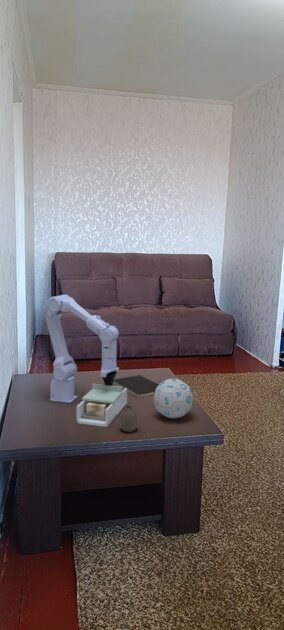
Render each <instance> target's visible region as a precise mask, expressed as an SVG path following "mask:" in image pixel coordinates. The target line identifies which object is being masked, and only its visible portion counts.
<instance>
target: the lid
mask: <svg viewBox="0 0 284 630" xmlns="http://www.w3.org/2000/svg"><path fill="white" fill-rule="evenodd" d="M91 386H92V389H90V390H89V391H88V392H87V393H86V394H85V395H84V396H82V398H81V400H82V401H83V400H86V401H94V402H103V403H108V404H111V403H112V404H113V403H114V402H115V401H116V400H117V399H118V398H119V397H120V396H121V394H122V391H123V390H124V389H123V387H121V386H117V385H105V384H103V383H101V384H100V383H92V384H91Z"/></svg>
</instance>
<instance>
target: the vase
mask: <svg viewBox="0 0 284 630" xmlns="http://www.w3.org/2000/svg"><path fill="white" fill-rule="evenodd" d="M138 424H139V416H138V413H137V411H135V409H134V407H133V405H125V406H124V409H122V410H121V413H119V418H118V425H119V427H120V429H121V430H122V431H124V432H126V433H131V432H134V431H135V430H137V427H138Z"/></svg>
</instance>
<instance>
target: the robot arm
mask: <svg viewBox="0 0 284 630" xmlns="http://www.w3.org/2000/svg"><path fill="white" fill-rule="evenodd" d="M45 307H46V309H45V317H44V318H45V321H46V325H47V328H48V333H49V337H50V338H49V339H50V341H51V345H52V350H53V353H54V358H55V359H54V362H53V364H52V365H53V378H52V379H51V381H50V384H49V385H50V386H49V387H50V395H49V396H50V398H49V401H50V402H51V401H52V402H59V403H66V404H71V403H72V402H74V401H75V400H76V399H77V398H78V395H75V375H76V374H77V372H78V367H77V364H76V363H75V361H74V358H73V357H72V356H71V355H70V354H69V350H68V347H67V343H66V340H65V335H64V332H63V327H62V324H61V323H62V322H61V320H60V319H61V317H62V315H63V314H64V313H65V312H66V313H67V312H69V313H72V314H73V315H75V316H76V317H78V318H79V319H80V320H82V321H84V322H85V325H86V327H87V328H88V329H89V330H90V331H92V332H94V334H96V335H97V336H98V337H99V340H100V341H101V368H100V370H101V371H100V377H101V378H102V380H103V383H104V384H103V385H112V386H114V383H113V381H114V379H116V375H117V374H118V373H117V371H120V367H118V365H117V339H118V338H119V334H120V331H119V330H118V328H117V326H115V325H110V323H109V322H106V321H104V320H103V319H102V318H101V316H99V315H96V314H94V315H91V314H90V312H88V311H86V310H85V309H84V308H83V307H82V306H80V305H79V304H78V303H77V301H76V300H75V299H74V298H73V297H71V296H70V295H68V294H65V293H64V294H61V295H56V296H51V297H49V298H48V299H47V301H46V303H45Z"/></svg>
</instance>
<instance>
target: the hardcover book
mask: <svg viewBox="0 0 284 630" xmlns="http://www.w3.org/2000/svg"><path fill="white" fill-rule="evenodd" d="M159 384H160V383H156V382H155V381H153V380H151V379H149V378H147V377H144V376H143V375H142V374H139V375H131V376H125V377H119V378H114V381H113V385H115V386H117V385H118V386H121V387H123V390H124V389H125V388H127V393H129V392H130V394H131V395H133V396H135V397H137V398H142V397H143V398H144V397H149V396H154V394H155V390H156V388H157V387H158V385H159Z"/></svg>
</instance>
